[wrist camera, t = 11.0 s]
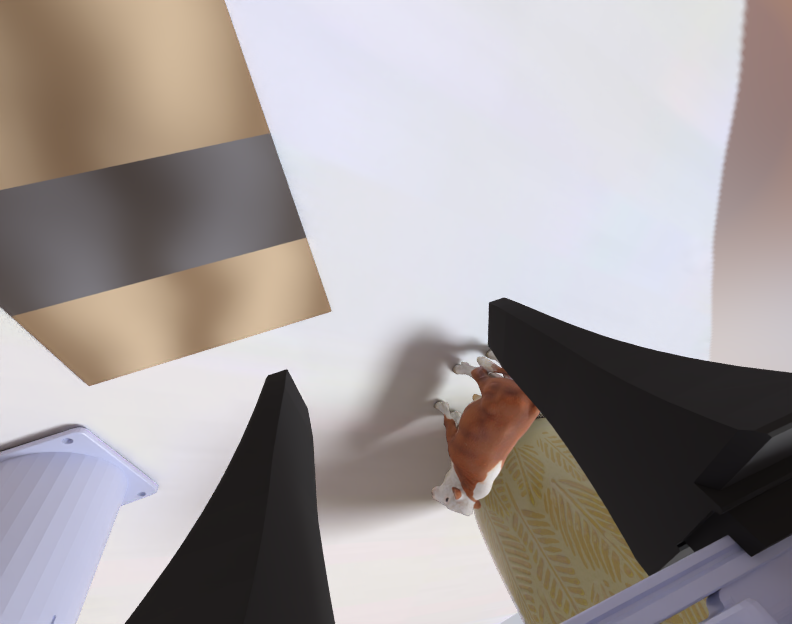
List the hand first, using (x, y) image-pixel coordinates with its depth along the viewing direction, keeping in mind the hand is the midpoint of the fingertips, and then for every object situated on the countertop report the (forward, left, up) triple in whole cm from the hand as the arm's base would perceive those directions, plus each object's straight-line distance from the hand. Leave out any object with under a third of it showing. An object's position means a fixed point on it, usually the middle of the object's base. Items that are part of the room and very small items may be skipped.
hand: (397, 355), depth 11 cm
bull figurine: (+6, -16, -10) cm, 20 cm away
